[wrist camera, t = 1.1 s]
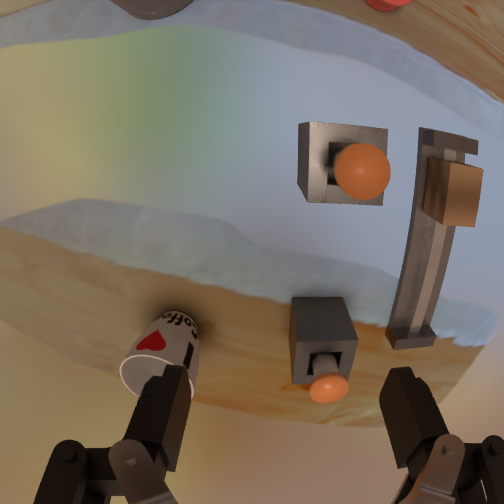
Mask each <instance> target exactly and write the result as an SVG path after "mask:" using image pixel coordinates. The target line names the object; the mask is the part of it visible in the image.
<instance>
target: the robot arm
mask: <svg viewBox="0 0 504 504" xmlns="http://www.w3.org/2000/svg"><path fill="white" fill-rule="evenodd" d="M111 1H112V2H113V3H115V4H116V5H118V6H119V7H121V8H122V9H124V10H125V11H126V12H128V13H129V14H131V15H133V16H134V17H137V18H140V19H148V20H151V19H159V18H163V17H167V16H169V15H172V14H174V13H176V12H178V11H179V10H181V9H183V8H184V7H185V6H187V5H188V4H189V3H190V2H191V1H192V0H111ZM140 395H141V396H140V397H139V400H138V402H137V405H136V407H135V410H134V412H133V415H132V417H131V420H130V423H129V425H128V428H127V431H126V433H125V436H124V437H123V439H122V440H121V441H119V442H117V443H115V444H114V445H113V446H112V447H108V448H84V446H83V445H82V444H81V443H79V442H78V441H74V440H64V441H62V442H60V443H58V444H57V445H56V446H55V448H54V450H53V452H52V454H51V457H50V459H49V462H48V465H47V467H46V470H45V472H44V475H43V478H42V480H41V483H40V486H39V488H38V491H37V494H36V497H35V500H34V503H33V504H110V500H111V496H125V498H126V500H127V502H128V504H178V503H177V501H176V500H175V498H174V497H173V495H172V493H171V491H170V490H169V488H168V487H167V485H166V483H165V481H164V479H165V476H166V471H171V472H175V469H176V464H177V460H178V456H179V452H180V447H181V443H182V439H183V434H184V430H185V426H186V421H187V417H188V413H189V409H190V405H191V387H190V382H189V376H188V370H187V367H186V366H181V365H172V364H167V365H166V367H165V369H164V372H163V375H162V376H155V375H153V376H152V377H151V378H150V379H149V380H148V381H147V382H146V383H145V384H144V387H143V389H142V392H141V394H140ZM379 403H380V408H381V411H382V414H383V418H384V421H385V424H386V428H387V431H388V435H389V438H390V442H391V445H392V449H393V452H394V456H395V460H396V463H397V467H398V469H400V468H405V467H408V471H409V472H408V473H407V475H406V477H405V478H404V480H403V482H402V484H401V486H400V489H399V490H398V492H397V494H396V496H395V498H394V500H393V501H392V503H391V504H504V440H503V439H502V438H501V437H499V436H495V435H491V436H488V437H487V438H486V439H485V440H484V441H483V442H482V443H463V441H462V440H461V439H460V438H459V437H457V436H455V435H452V434H450V433H449V431H448V430H447V427H446V424H445V422H444V420H443V417H442V415H441V413H440V411H439V408H438V406H437V405H436V402H435V399H434V397H432V393H431V391H430V389H429V387H428V385H427V384H426V383H425V382H424V381H423V380H422V379H421V378H420V377H419V378H415V376H414V373H413V371H412V369H411V368H410V367H398V368H392V369H391V370H390V371H389V374H388V376H387V378H386V381H385V383H384V385H383V387H382V390H381V392H380V397H379ZM481 480H482V482H483V485H484V489H485V492H486V496H487V502H486V498H485V494H484V490H483V487H482V483H481Z"/></svg>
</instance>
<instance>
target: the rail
mask: <svg viewBox="0 0 504 504" xmlns="http://www.w3.org/2000/svg"><path fill="white" fill-rule="evenodd" d="M465 153H469V154H473V155H477V154H478V140H474V139H470V138H466V137H464V136H460V135H456V134H451V133H447V132H442V131H438V130H433V129H428V128H422V127H419V139H418V154H417V168H416V179H415V188H414V197H413V205H412V213H411V219H410V226H409V232H408V238H407V244H406V250H405V255H404V261H403V265H402V270H401V275H400V279H399V284H398V288H397V292H396V297H395V301H394V305H393V309H392V312H391V316H390V320H389V324H388V327H387V331H386V334H385V335H386V337H387V339H388V340H389V342H390V344H391V346H392V348H393V350H398V349H408V348H418V347H426V346H433V343H434V341H435V338H436V335H435V333H434V332H433V330H432V329H431V327H430V326H429V325H430V322H431V319H432V316H433V313H434V310H435V307H436V303H437V300H438V297H439V293H440V290H441V286H442V283H443V279H444V275H445V272H446V268H447V264H448V260H449V255H450V251H451V246H452V242H453V237H454V232H455V227H456V226H451V225H442V224H440V223H439V222H437V221H436V220H434V219H433V218H431V217H430V216H428V215H427V214H425V213H423V207H424V199H425V191H426V182H427V172H428V161H429V157H433V158H439V159H442V160H447V161H453V162H461V163H464V161H465Z"/></svg>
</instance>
